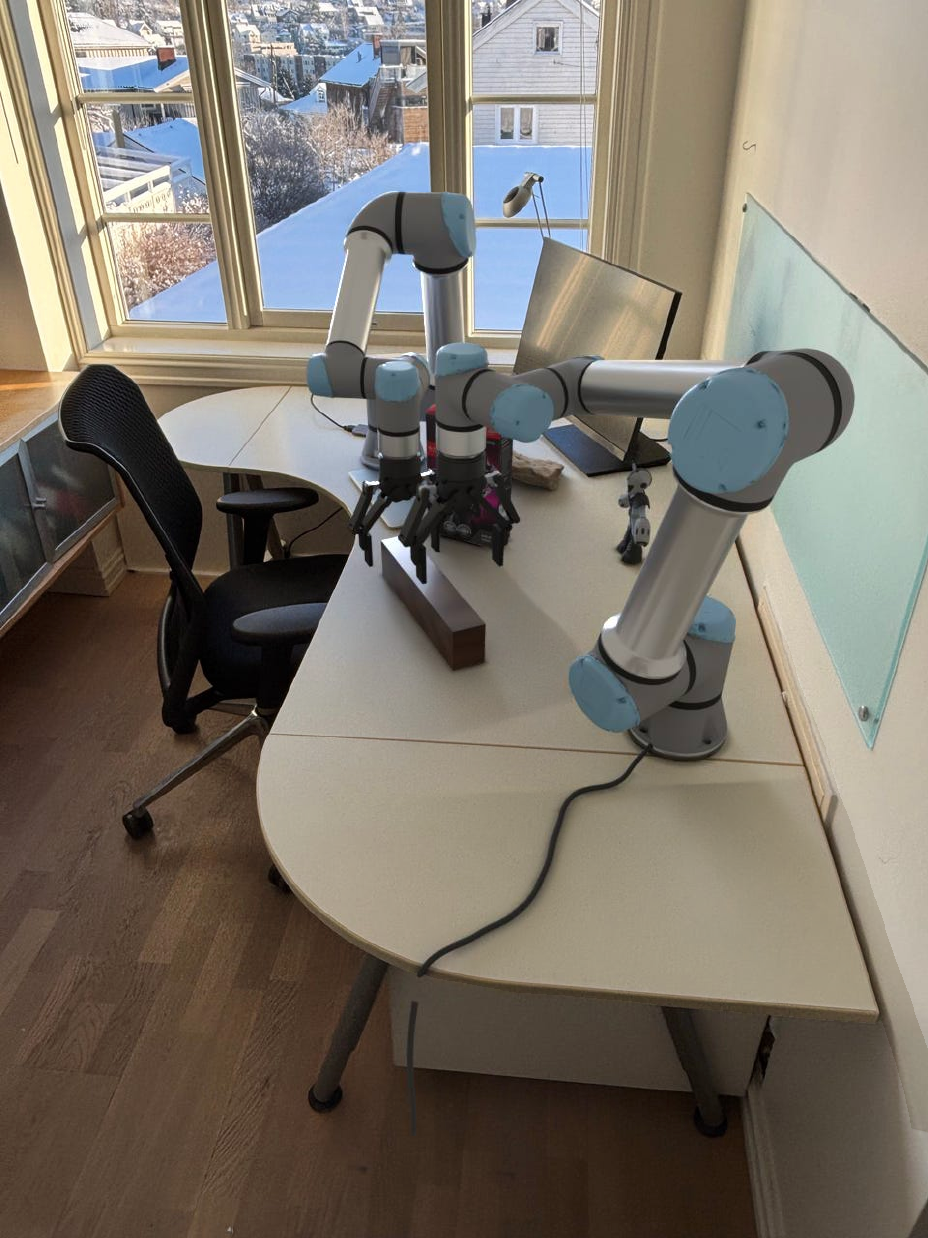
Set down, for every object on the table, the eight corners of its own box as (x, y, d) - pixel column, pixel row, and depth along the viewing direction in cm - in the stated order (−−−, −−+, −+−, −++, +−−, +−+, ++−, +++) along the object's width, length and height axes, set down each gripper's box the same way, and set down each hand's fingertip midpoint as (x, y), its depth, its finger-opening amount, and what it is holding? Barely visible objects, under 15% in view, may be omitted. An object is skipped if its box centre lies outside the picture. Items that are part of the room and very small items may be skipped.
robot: (652, 579, 180) (665, 486, 169) (627, 579, 180) (639, 486, 169) (631, 531, 196) (642, 443, 185) (609, 531, 196) (618, 444, 185)
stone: (462, 471, 213) (468, 446, 211) (478, 460, 226) (484, 436, 224) (548, 498, 210) (555, 473, 207) (560, 485, 223) (567, 461, 221)
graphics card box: (425, 532, 195) (422, 409, 180) (440, 519, 200) (440, 398, 185) (497, 552, 189) (501, 426, 173) (511, 537, 194) (517, 414, 179)
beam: (484, 662, 158) (485, 623, 153) (452, 671, 155) (453, 632, 151) (410, 569, 183) (409, 533, 179) (382, 575, 181) (380, 539, 177)
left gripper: (454, 434, 171) (454, 535, 183) (325, 455, 162) (333, 560, 174) (471, 448, 165) (470, 552, 177) (339, 471, 157) (346, 578, 168)
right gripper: (522, 427, 145) (517, 545, 157) (373, 453, 137) (380, 576, 149) (545, 445, 140) (538, 566, 152) (392, 473, 131) (396, 599, 143)
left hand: (402, 556), depth 176 cm, fingers open, 13 cm apart
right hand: (460, 571), depth 150 cm, fingers open, 13 cm apart
